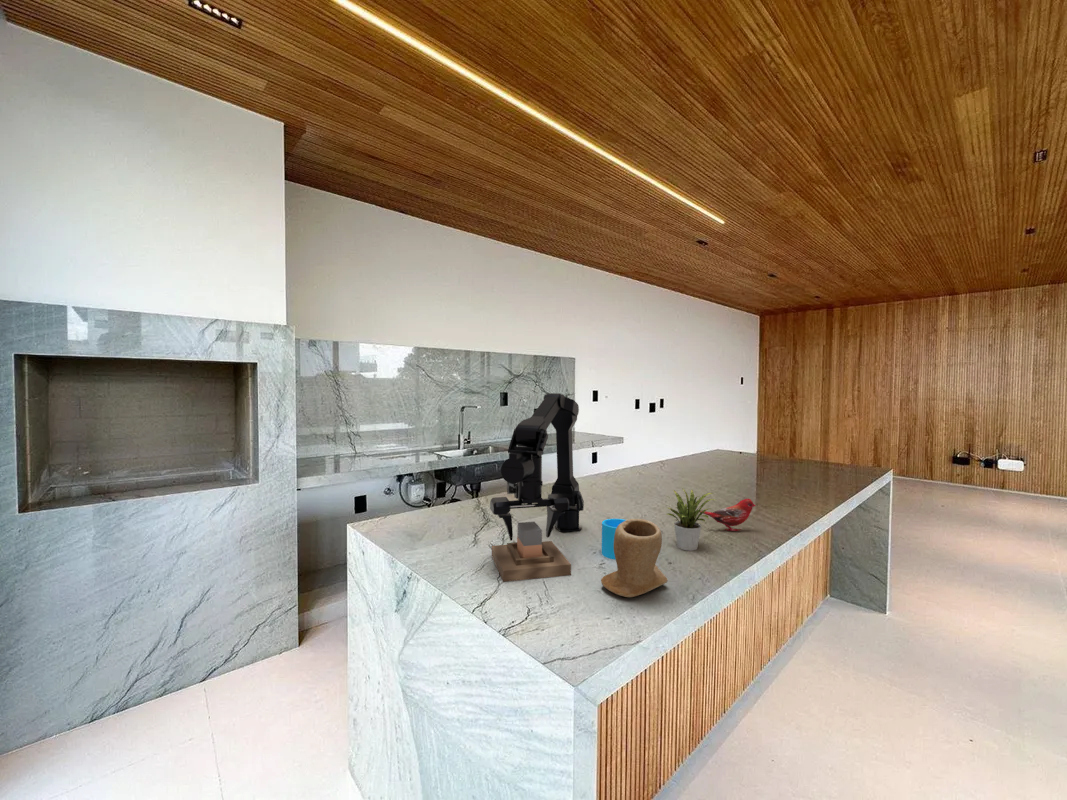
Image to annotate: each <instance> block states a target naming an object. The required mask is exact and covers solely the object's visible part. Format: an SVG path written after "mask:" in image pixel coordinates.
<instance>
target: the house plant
mask: <svg viewBox="0 0 1067 800" xmlns="http://www.w3.org/2000/svg"><path fill="white" fill-rule="evenodd" d="M681 489H682V490H683V492H684V494H685V497H686V503H685V504H684V501H683V498H682V496H681V495H680V494H679V493H678V492H677V491H675V490H674V489H673V490H672V491H673V492H674V494H675V496H676V499H677V502H676V507H675V508H676V509H677V510H675V509H673V508H671V507H666V508H667V509H668V510H670V511H671V512H672V513H674V514H672V513H671V512H669V513H667V515H668V516H672V517H674V518H675V519H676V520H677V521H675V522H674V523H673V526H674V532H675V539H676V546H677V548H678V549H681V550H684V551H691V552H692V551H696V550H698V545H699V541H700V537H701V532H702V531H701V530H702V525H701V524H700V523H698V522H697V521H703V522H706V520H705V519H704V518H706V519H709V515H706V514H703V513H705V511H706V512H707V510H711V509H712V508H709V507H708V508H705V509H703V510H702V508H703V507H704V506H705V505H706V504H707V503H708V502H709V501H716V499H714V498H711V499H710V498H709V499H706V500H704V498H706V497H707V496H709V495H711V494H713V492H707V493H704V494H703V495H702V496H698V495H697V496H696V497H695V493H694V491H693V489H691V490H690V492H689V494H690V496H689V495H688V492H687V491H686V490H685V488H683V487H681ZM664 496H666V497H668V498H669V495H666V494H664ZM697 498H698V499H697ZM702 500H704V502H703V503H701V502H702ZM700 503H701V504H700ZM699 505H700V506H699ZM698 506H699V507H698ZM700 511H702V512H701V513H700ZM700 517H704V518H700ZM678 518H679V519H678Z"/></svg>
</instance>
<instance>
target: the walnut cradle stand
mask: <svg viewBox="0 0 1067 800" xmlns="http://www.w3.org/2000/svg"><path fill="white" fill-rule="evenodd" d="M491 557H492V560H493V561H494V564H495V566H496V569H497V571H498V573H499V576H500V578H501V580H502V582H503V583H505V582H514V581H515V582H516V581H526V580H534V579H535V580H536V579H546V578H553V577H555V578H556V577H563V576H571V575H572V564H571V563H570V561H569V560H568V559H567V558H566V557H565V556H564V554H563V552H561V550H560V549H559V548H558V547H557V546H556V545H555V544H554V542H553V541H552V540H547V541H546V540H545V541H542V556H541V557H530V558H522V557H521V556H520V554H519V552H518V551H517V541H516V542H507V543H506V544H499V545H491Z"/></svg>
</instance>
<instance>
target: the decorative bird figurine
mask: <svg viewBox="0 0 1067 800" xmlns="http://www.w3.org/2000/svg"><path fill="white" fill-rule="evenodd" d="M754 507H756V505H755V503H754V502H753V501H752V499H751V498H744V499H742V500H740V501H739V502H738V503H736V504H734V505H731V506H728V507H723V508H720V509H718V510H715V511H713V512H712V511H711V512H710V511H707V510H706V511H705V513H703V514H702V515H707V516H708V517H711V518H712V519H713V520H715V522H716V523H720V524H722V525H724V526H725V527H726V528H724V531H729V532H730V531H731V532H736V531H742V529H740V528H738V529H737V528H733V527H737V526H740V525H742V524H743V523H744V522H746V521H747V520H748V518H749V517H750V514H751V512H752V511H753V509H754ZM702 511H703V510H701V511H700V512H699V514H700V513H701V512H702Z"/></svg>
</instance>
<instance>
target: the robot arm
mask: <svg viewBox="0 0 1067 800" xmlns="http://www.w3.org/2000/svg"><path fill="white" fill-rule="evenodd" d="M579 411H580V409H579V404H578V402H576V400H575V399H572V398H569V397H567V396H566V395H564V394H562V393H556V392H555V393H554V392H553V393H551V392H548V393H545V394H544V396H543V399H542V401H541V403H540V404H539V405H538V406H537V408H536V410H535V411H534V413H533V414H532V415H531V416H530V417H528V418H526V419H522V421H520V422H519V423H518V424H517V425H516V426H515V428H514V430H513V433H512V436H511V439H510V442H509V446H508V448H507V453H508V458H507V459H506V460H504V461H503V462H502V464H501V467H500V473H501V476H502V478H503V480H504V481H505V482H506V494H507V495H514V496H513V497H514V498H515V499H516V500H509V499H508V498H507V496H499V497H498V496H497V497H495V496H494V497H492V498H491V499H490V500H489V501H490V502H489V509H490V511H491V513H492V514H493V515H495V516H497V517H498V518H499V519H502V520H503V522H504V524H505V528H506V532H507V534H508V537H509V540H510V541H511V542H512V541H513V537H514V536H513V535H514V534H513V519H512V517H513V515H512V514H511V513H510V512H511V510H512V509H513V510H514V509H527V508H528V509H529V508H544V507H546V513H547V516H546V524H545V525H546V526H545V527H546V528H545V536H546V538H547V539H548V538H550V536H551V534H552V532H553V529H554V527H555V528H556V529H557V530H558V531H559V532H560V533H565V532H566V533H567V532H569V533H570V532H581V530H582V528H581V527H580V512H583V511H584V507H585V506H584V505H585V504H584V503H585V502H584V498H583V496H582V493H581V491H580V486H579V482H578V481H577V479H576V477H575V476H574V460H573V459H574V457H573V455H574V454H573V427H574V425H576V423H577V420H578V415H579ZM550 425H552V427H553V428H554V430H555V440H556V442H555V443H556V445H555V446H556V468H557V469H556V470H557V471H556V473H557V479H556V480H555V481H554V483H553V485H552V486H551V493H550V494H548V495H547V498H543V497H542V493H543V491H542V487H543V479H542V477H543V476H542V475H543V474H542V471H543V470H542V469H543V467H542V466H543V459H542V458H543V455H544V454H545V453H544V451H545V448H546V444H547V442H548V439H549V435H548V431H547V430H548V429H549V426H550Z"/></svg>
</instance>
